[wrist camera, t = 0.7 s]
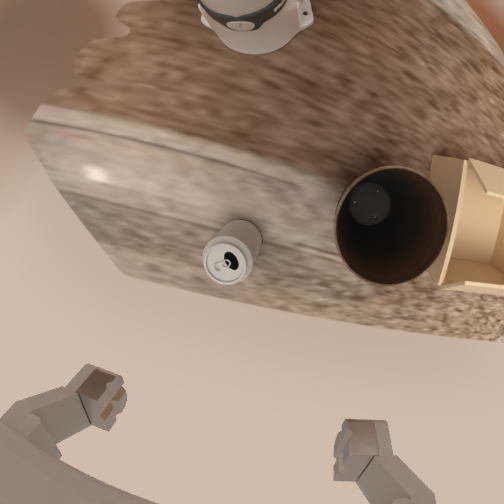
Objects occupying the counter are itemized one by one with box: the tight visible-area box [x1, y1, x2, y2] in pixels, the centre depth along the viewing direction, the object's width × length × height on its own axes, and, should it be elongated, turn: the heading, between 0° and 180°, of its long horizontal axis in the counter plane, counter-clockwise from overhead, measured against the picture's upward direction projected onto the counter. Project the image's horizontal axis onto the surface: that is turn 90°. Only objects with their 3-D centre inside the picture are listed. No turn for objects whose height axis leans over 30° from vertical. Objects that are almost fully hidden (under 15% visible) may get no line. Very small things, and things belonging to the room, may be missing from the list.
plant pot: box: [334, 165, 449, 286], centre depth 42 cm, size 15×15×16 cm
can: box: [202, 220, 262, 285], centre depth 49 cm, size 8×8×12 cm
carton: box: [428, 155, 504, 285], centre depth 41 cm, size 18×18×12 cm
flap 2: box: [441, 281, 504, 295], centre depth 34 cm, size 7×17×1 cm
